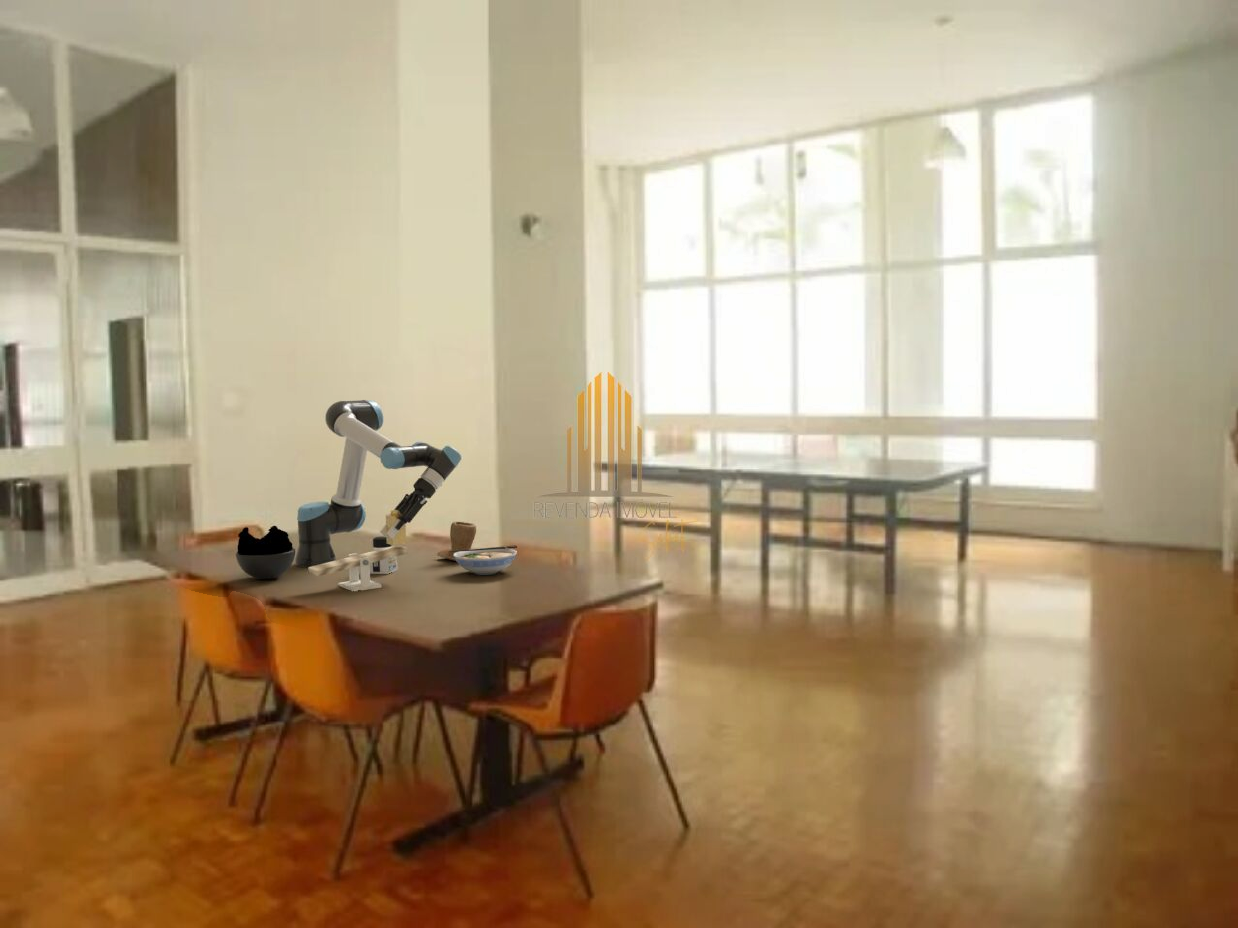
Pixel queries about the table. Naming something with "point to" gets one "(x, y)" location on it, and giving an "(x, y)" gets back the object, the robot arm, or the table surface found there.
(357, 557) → the balance beam
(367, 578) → the beam stand
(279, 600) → the table surface
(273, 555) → the coal bowl
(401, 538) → the brass weight
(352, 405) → the robot arm
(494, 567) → the ramen bowl
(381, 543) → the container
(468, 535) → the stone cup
